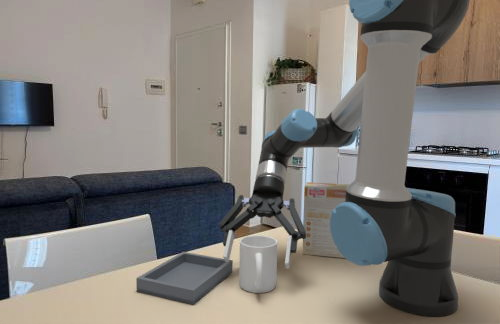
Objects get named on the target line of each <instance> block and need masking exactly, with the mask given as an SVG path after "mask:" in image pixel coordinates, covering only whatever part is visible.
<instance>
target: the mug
mask: <svg viewBox="0 0 500 324" xmlns="http://www.w3.org/2000/svg"><path fill="white" fill-rule="evenodd" d="M277 264H278V240H277V239H276V238H274V237H271V236H268V235H248V236H244V237H242V238H240V239H239V268H238V269H239V274H238V275H239V278H238V279H239V281H238V282H239V285H240V287H241V288H242V290H244V291H246V292H249V293H253V294H263V293H269V292H271V291H272V290H274V289H275V288H276V286H277V268H278V267H277V266H278V265H277Z"/></svg>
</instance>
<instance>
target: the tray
mask: <svg viewBox="0 0 500 324" xmlns="http://www.w3.org/2000/svg"><path fill="white" fill-rule="evenodd" d="M233 264H234V263H233V260H231V259H229V262H225V260H224V258H223V257H222V258H221V257H216V256H210V255H203V254H199V253H193V252H187V251H182V252H180V253H178V254H177V255H174V256H173V257H171V258H170V259H167V260H166V261H164V262H163V263H161V264H159V265H157V266H155V267H153V268H151V269H150V270H148V271H146V272H145V273H142V274H141V275H139V276H138V277H136V278H135V279H136V281H135V282H136V283H135V284H136V292H137V293H141V294H146V295H149V296H153V297H157V298H161V299H167V300H170V301H174V302H179V303H183V304H188V305H192V306H195V304H196V303H198V302H199V301H200V300H201V299H202V298H203V297H205V296H206V295H207V294H209V292H211V291H212V290H213V289H214V288H215V287H217V286H218V285H219V284H220V283H222V282H223V281H224V280H225V279H226V278H227V277H229V276H230V275H231V274H232V273H233Z"/></svg>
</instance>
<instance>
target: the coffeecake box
mask: <svg viewBox="0 0 500 324" xmlns="http://www.w3.org/2000/svg"><path fill="white" fill-rule="evenodd" d="M350 184H351V183H349V184H348V183H330V182H329V183H328V182H326V183H325V182H306V184H305V185H304V190H303V192H304V194H303V195H304V196H303V222H302V224H303V226H304V228H305V231H306V238H305V239H302V255H307V256H309V255H311V256H320V257H329V258H330V257H331V258H339V259H346V258H345V257H344V256H343V255H342V254H341V253H340V251H339V250H338V248H337V246H336V244H335V243H334V241H333V238H332V235H331V231H330V217H331V213H332V211H333V210H334V209H336V206H338V205H339V204H340V203H343V202H345V196H346V187H347V186H348V185H350Z"/></svg>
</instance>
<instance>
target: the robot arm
mask: <svg viewBox="0 0 500 324" xmlns="http://www.w3.org/2000/svg"><path fill="white" fill-rule="evenodd" d="M348 2H349V3H348V5H349V10H350V13H351V14H352V16H353V18H354V19H355V20H356V21H358V22H359V23H361V24H360V37H359V39H360V40H361V42H363V43H364V45H365V46H366V47H367V48H366V49H367V55H366V57H367V58H366V66H365V67H366V68H365V71H364V72H363V74H362V75H361V76H360V77H359V79H357V80H356V82H355V83H354V84H353V86H352V87H351V88H350V90H348V92H347V93H346V94H345V95H344V97H342V99H341V100H339V103H338V104H336V106H335V107H334V108H333V110H332V111H331V112H330V113H329V115H328V116H326V117H325V118H324V117H323V118H322V117H315V116H314V114H312V113H311V112H310V111H306V110H305V109H303V108H296V109H293V110H292V111H291V112H290V113H289V114H288V115H287V116H286V117H285V118H283V120H282V122H281V123H280V124H279V126H277V128H276V129H275V130H271V131H268V132H267V133H266V134H265V136H264V139H263V141H262V143H261V149H260V150H261V151H260V154H259V160H258V165H257V170H256V173H255V181H254V183H253V184H254V185H253V190H252V194H251V197H249V198H248V197H244V195H243V194H240V195H238V196H237V197H238V198H237V200H236V202H235V204H234V205H233V206H232V207H231V208H230V209H229V211H228V212H227V213H226V214H225V215H224V216H223V218H222V219H221V220H220V222H219V223H218V225H217V226H218V228H219V230H220V233H221V232H222V233H224V234H223V238H222V245H223V247H224V251H223V256H222V258H223V259H224V260H225V262H229V260H231V259H230V258H231V253H232V249H233V245H234V241H235V234H234V233H235V232H236V231H237V230H238V229H240V228H241V227H242V226H244V225H245V224H246V223H248V222H249V221H250V220H251V219H253V218H255V217H259V218H264V217H265V218H267V219H268V218H269V219H272V217H274V218H275V219H276V220H277V221H278V222H279V223H280V225H281V226H282V228H284V230H285V231H286V233H287V234H288V237H287V243H286V251H285V261H284V265H285V269H290V267H291V259H292V258H291V257H292V254H296V253H297V248H298V242H299V240H300V239H302V240H303V239H305V238H306V231H305V228H304V226H303V222H302V220H301V218H300V216H299V212H298V211H297V209H296V204H295V203H296V202H295V199H294V198H290V199H288V200H284V193H285V184H286V178H287V171H288V166H289V160H290V159H291V158H292V157H293V156H294V155H295V154H296V153H297V152H298V151H299V150H300V149H302V148H303V149H304V148H305V149H307V148H308V149H309V148H310V149H311V148H342V147H343V148H344V147H349V146H351V145H352V144H353V143H355V141H356V137H357V136H358V128H360V129H359V136H358V137H359V139H358V149H357V150H358V151H357V160H356V161H357V162H356V168H355V179H354V180H353V181H352V182H351V183H349V184H350V185H348V186H347V187H346V196H345V202H343V203H340V204H339V205H338V206H336V209H334V210H333V211H332V213H331V217H330V231H331V235H332V238H333V241H334V243H335V244H336V246H337V248H338V250H339V251H340V253H341V254H342V255H343V256H344V257H345V258H344V259H345V260H347V261H348V262H350V263H352V264H354V265H357V266H362V267H364V266H371V265H373V266H378V265H381V264H383V263H386V262H387V263H386V265H385V268H384V270H383V273H382V275H381V277H380V279H379V283H378V284H379V285H378V294H379V297H381V299H382V300H383V301H384V302H385V303H386V304H388V305H390V306H392V307H393V308H395V309H396V308H397V309H398V310H401V311H403V312H406V313H410V314H413V315H414V314H415V315H419V316H427V317H444V316H449V315H453V314H454V313H455V312H456V311H457V310H458V307H459V305H458V304H459V294H458V290H457V288H456V287H457V286H456V283H455V280H454V277H453V274H452V267H451V266H452V252H453V244H454V233H455V232H454V231H455V222H456V217H457V216H456V215H457V214H456V201H455V199H454V198H453V197H452V196H451V195H449V194H446V193H441V192H436V191H430V190H425V189H418V188H417V189H416V188H410V187H406V185H405V182H406V174H407V173H406V172H407V167H408V158H409V156H408V155H409V149H410V141H411V131H412V124H413V115H414V109H415V108H414V106H415V99H416V98H415V97H416V92H417V91H416V89H417V83H418V73H419V65H420V63H421V62H422V61H423V60H424V59H425V58H426V57H427V56H433V55H435V54H437V53H438V52H439V51H440V50H441V48H443V47H444V46H445V45H446V44H447V43H448V41H449V40H451V38H452V37H453V35H454V34H455V33H456V32H457V30H458V29H459V27H460V26H461V25H462V22H463V20H464V19H465V17H466V15H467V13H468V9H469V6H470V0H348ZM247 205H249V206H248V207H247ZM246 207H247V208H246ZM284 207H285V208H286V209H287V211H289V213H290V216H291V218H292V220H293V222H294V224H295V227H296V229H297V230H296V229H295V228H294V227H293V225H292V223H290V221H289V220H288V219H287V217H286V216H285V215H284V213H283V212H282V209H284ZM244 208H246V209H245V211H243V212H242V210H243V209H244ZM241 212H242V213H241Z"/></svg>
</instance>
